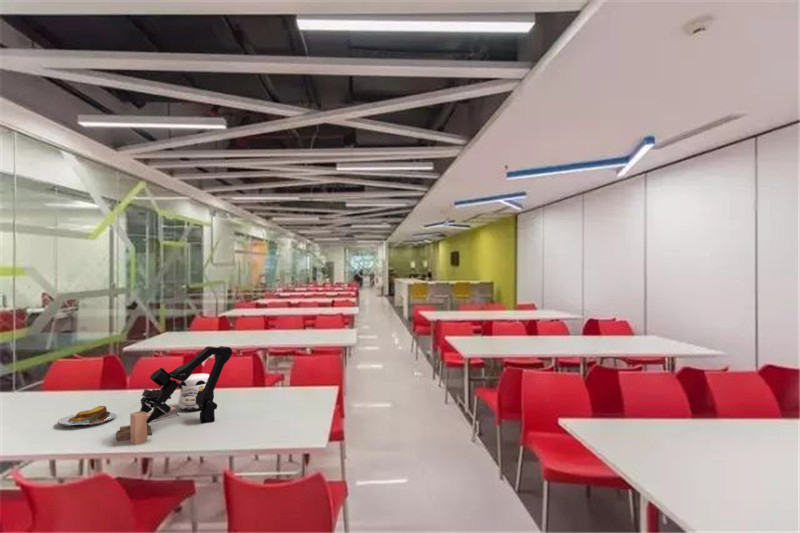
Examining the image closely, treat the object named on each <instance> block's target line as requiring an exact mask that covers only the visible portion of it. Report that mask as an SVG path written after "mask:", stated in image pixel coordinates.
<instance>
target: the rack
mask: <svg viewBox="0 0 800 533" xmlns="http://www.w3.org/2000/svg"><path fill="white" fill-rule="evenodd" d="M152 435H153V431H152V426H151V425H150V424H149V423H147V437H149V436H152ZM127 440H130V424H128V425H122V426H119V430H117V432H116V441H117V442H120V441H127Z"/></svg>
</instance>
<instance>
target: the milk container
mask: <svg viewBox="0 0 800 533" xmlns="http://www.w3.org/2000/svg"><path fill="white" fill-rule="evenodd" d="M209 375H210V374H209V373H203V372H202V373H192V374H191V375H190V376H189V377H188V379H187V380H185V381H179V383H182V389H180V388H179V389H180V391H179V397H178V406H179V408H180V410H183V411H198V410H200V409H199V407H198V405H197V404H196V402H195V401H196V399H195V398H196V396H197V394H198V391H202V390H203V389H204V388H205V385H206V383H207V380H208V378H209Z"/></svg>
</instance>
